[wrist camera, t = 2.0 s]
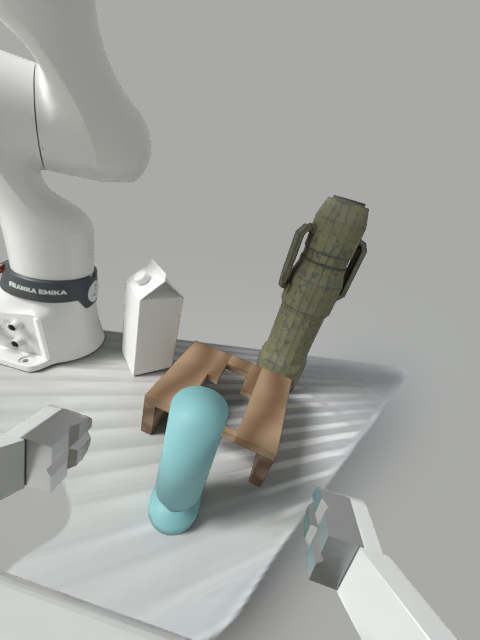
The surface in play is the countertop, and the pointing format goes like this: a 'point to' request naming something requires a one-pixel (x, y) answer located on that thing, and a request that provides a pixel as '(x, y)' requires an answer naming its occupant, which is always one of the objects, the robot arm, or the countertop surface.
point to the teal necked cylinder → (186, 457)
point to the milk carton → (150, 320)
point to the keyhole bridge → (260, 386)
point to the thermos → (314, 283)
